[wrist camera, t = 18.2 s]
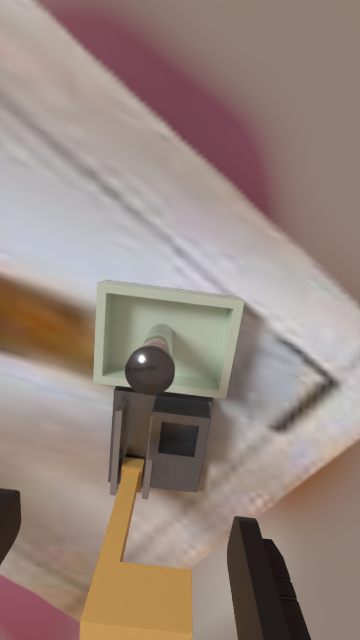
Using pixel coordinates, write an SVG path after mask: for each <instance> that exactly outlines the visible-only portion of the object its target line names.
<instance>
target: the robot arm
mask: <svg viewBox="0 0 360 640" xmlns="http://www.w3.org/2000/svg"><path fill="white" fill-rule="evenodd" d="M20 525H21V505H20V492H19V491H18V490H10V489H1V488H0V565H1V563H2V561H3V560H4V558H5V556H6V555H7V553H8V551H9V550H10V548H11V546H12V545H13V543H14V541H15V539H16V537H17V535H18V532H19V529H20ZM227 565H228V572H229V579H230V586H231V593H232V600H233V607H234V614H235V621H236V628H237V635H238V640H311V638H310V635H309V632H308V629H307V626H306V624H305V621H304V618H303V615H302V612H301V609H300V606H299V603H298V602H297V599H296V594H295V591H294V588H293V585H292V583H291V582H290V576H289V573H288V570H287V567H286V564H285V561H284V558H283V556H282V555H281V553H280V552H279V550H278V548H277V547H276V546H275V544H274V542H273V541H272V540H271V539H263V538H262V536H261V532H260V528H259V525H258V522H257V520H256V519H255V518H247V517H239V516H235V517H234V520H233V525H232V529H231V533H230V538H229V542H228V548H227Z"/></svg>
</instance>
